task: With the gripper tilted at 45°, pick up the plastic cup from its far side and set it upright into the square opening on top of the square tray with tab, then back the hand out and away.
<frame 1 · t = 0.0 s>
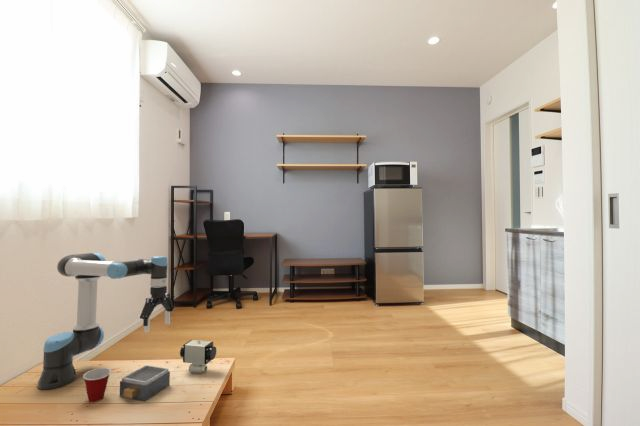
hand: (157, 327, 159), 28 cm above the table, tool pointing down, fingers open, 13 cm apart
plastic cup: (96, 399, 144), on the table
square tray with tab: (145, 391, 151), on the table
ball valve: (198, 372, 170), on the table
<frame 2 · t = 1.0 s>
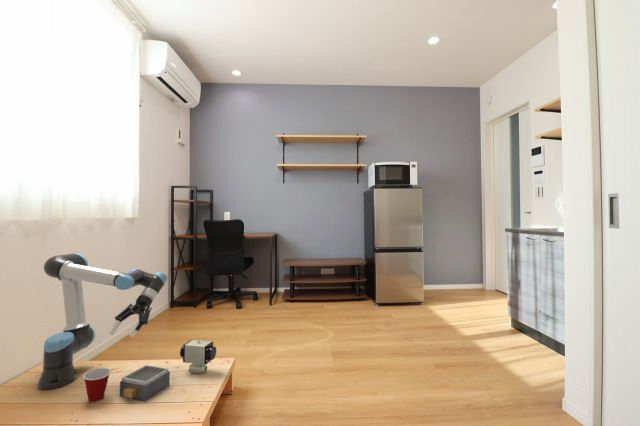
hand: (120, 334, 155), 26 cm above the table, tool tilted 45°, fingers open, 13 cm apart
nothing on the table moved.
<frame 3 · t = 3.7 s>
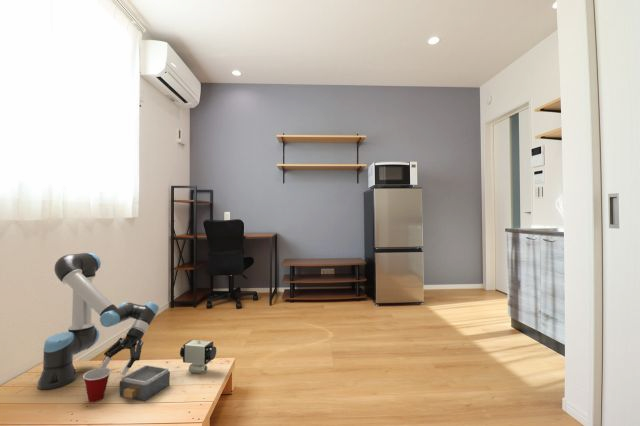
hand: (111, 373, 149), 10 cm above the table, tool tilted 45°, fingers open, 13 cm apart
nothing on the table moved.
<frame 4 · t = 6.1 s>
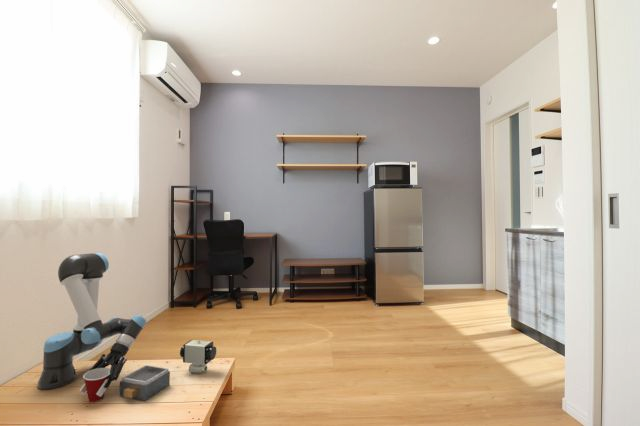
hand: (90, 393, 141), 4 cm above the table, tool tilted 45°, fingers closed on plastic cup, 9 cm apart
plastic cup: (96, 399, 144), on the table, touching gripper
everything else where it was.
when the fingers open (13 cm above the table, at t = 11.9 s): plastic cup drops 1 cm, resting on square tray with tab.
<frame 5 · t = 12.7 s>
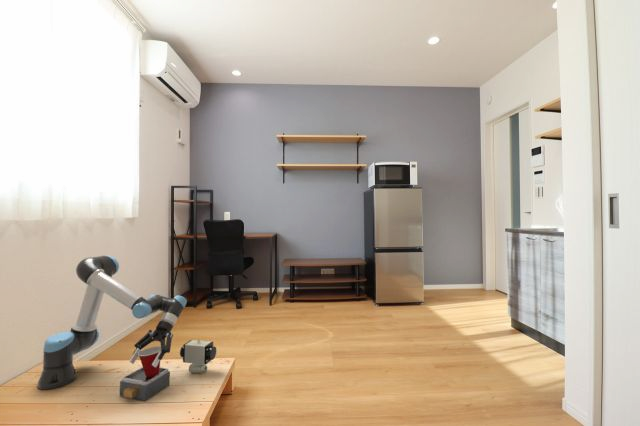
hand: (142, 364, 149), 14 cm above the table, tool tilted 45°, fingers open, 13 cm apart
plastic cup: (153, 375, 151), point 7 cm above the table, touching gripper, square tray with tab
everything else where it was.
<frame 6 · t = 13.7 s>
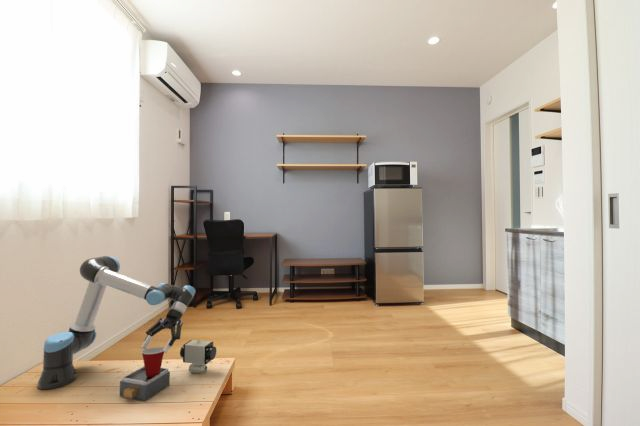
hand: (153, 350, 155), 18 cm above the table, tool tilted 45°, fingers open, 13 cm apart
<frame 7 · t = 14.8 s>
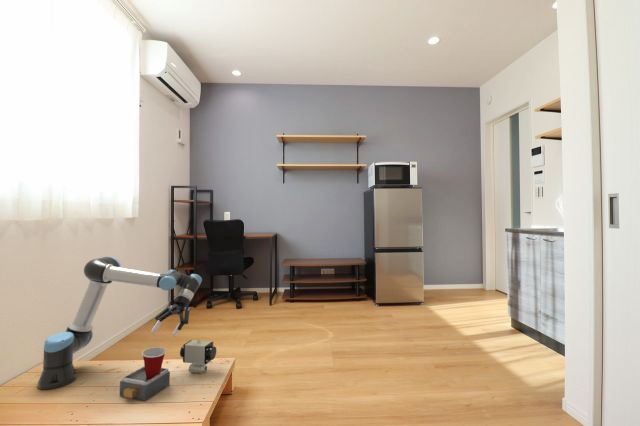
hand: (163, 334, 162), 24 cm above the table, tool tilted 45°, fingers open, 13 cm apart
plastic cup: (153, 376, 151), point 7 cm above the table, touching square tray with tab
everything else where it was.
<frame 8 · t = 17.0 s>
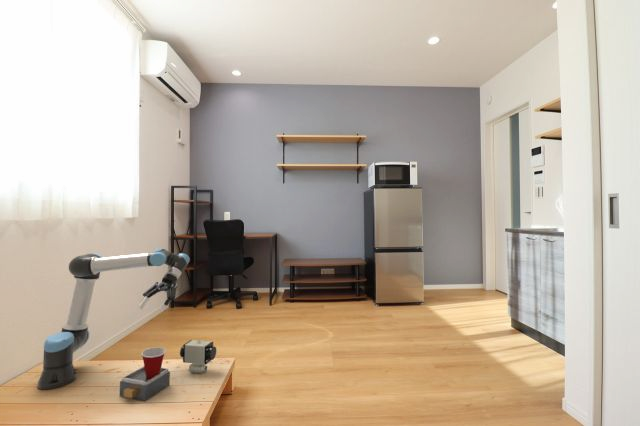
hand: (150, 309, 166), 36 cm above the table, tool tilted 45°, fingers open, 13 cm apart
nothing on the table moved.
at the end: plastic cup 3.4 cm off-centre on the square tray with tab, point 6.8 cm above the square tray with tab's base; plastic cup tilted 0°; the gripper is holding nothing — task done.
